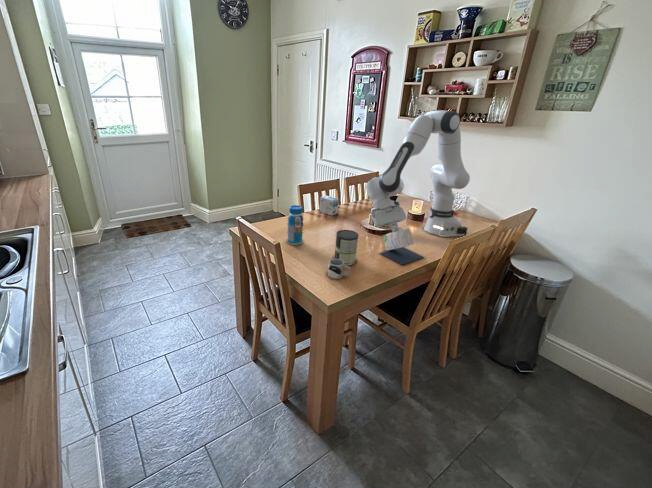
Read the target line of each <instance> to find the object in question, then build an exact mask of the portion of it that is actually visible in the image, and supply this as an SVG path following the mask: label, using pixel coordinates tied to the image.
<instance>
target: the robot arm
mask: <svg viewBox="0 0 652 488" xmlns="http://www.w3.org/2000/svg"><path fill="white" fill-rule="evenodd" d="M460 125H461V117H460V115H459V113H458V112H457V111H455V110H444V109H443V110H442V109H438V110H427V111H423V112H422V113H421V114H420V115H418V116H417V117H416V118H415V119H414V120H413V122H412V123H411V125H410V126H409V128H408V130H407V131H406V133H405V135H404V137H403V140H402V142H401V145H400V147H399V149H398V151H397V152H396V154H395V156H394V158H393V159H392V161H391V163H390V165H389V166H388V168H386V170H385V171H384V172H383V173H381V175H380V176H379V177H378V176H375V177H372V178H370V180H368V181H367V182H366V184H365V190H366V193H367V195H368V198H369V199H370V201H371V202H372V206H373V209H371V211H370V215H371V219H372V222H373V225H374V226H375V227H376V228H380V227H384V226H387V227H388V228H389V229H390V230H391V233H392V232H395V231H399V230H400V229H399V227H398V226H399V225H398V224H399V223H400V222H401V223H402V222H403V221H405V220H406V219H407V215H406V213H405V210H404V208H403V207H402V206H401V202H400V201H396V200H393V199H391V198H392V197H394V196H398V195H399V194H401V193H402V192H403V191H404V187H405V186H404V185H405V184H404V182H403V180H402V178H401V175H402V172H403V171H404V169H405V167H406V165H407V163H408V161H409V160H410V158H412V157H415V156H419V155H420V154H421V153H422V151H423V150H424V149H425V147H426V145H427V143H428V141H429V139H430V137H431V134H437V158H438V160H439V161H440V163H436V164H434V165H432V167H431V169H430V170H429V177H430V178H431V181H432V185H433V186H432V188H433V196H432V203H431V206H430V209H429V212H428V218H427V221H426V223H425V225H424V227H423V230H424V231H425V232H426V233H429V234H432V235H436V236H437V237H442V238H449V237H464V236H465V235H466V234H467V232H468V229H469V228H468V227H467V226H463V225H462V223H461V221H460V220H458V218H457V217H455V216H458V214H459V213H458V212H457V211H456V210H454V209H453V207H454V202H455V197H456V196H455V194H454V192H453V190H452V189H455V190H462V189H465V188H466V187H467V186H468V185H469V184H470V181H471V175H470V174H469V173H468V171H467V170H466V167H465V165H464V161H463V158H462V152H461V151H462V148H461V147H462V146H461V145H462V143H461V142H462V135H461V127H460Z"/></svg>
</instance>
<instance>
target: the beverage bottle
mask: <svg viewBox="0 0 652 488" xmlns="http://www.w3.org/2000/svg"><path fill="white" fill-rule="evenodd" d="M288 209H289V215H288V216H287V237H286V238H287V240H286V242H287V244H289V245H293V246H297V245H301V244H302V243H303V231H304V230H303V229H304V222H303V221H304V216H303V207H302V206H301V205H295V204H293V205H290V206H289V208H288Z"/></svg>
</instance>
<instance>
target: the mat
mask: <svg viewBox="0 0 652 488" xmlns="http://www.w3.org/2000/svg"><path fill="white" fill-rule="evenodd" d="M379 255H381V256H383V257H385V258H387V259H389V260H391V261H393V262H395V263H397V264H399V265H400V266H405V265H408V264H411V263H414V262H416V261H419V260H422V259H424V256H422V255H420V254H418V253H416V252H414V251H412V250H410V249H408V248H406V247H402V248H398V249H393V250H388V251H387V250H385V251H383V252H380V254H379Z"/></svg>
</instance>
